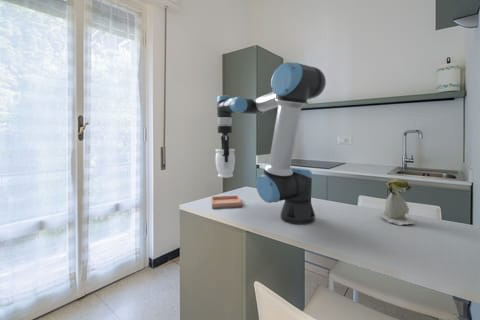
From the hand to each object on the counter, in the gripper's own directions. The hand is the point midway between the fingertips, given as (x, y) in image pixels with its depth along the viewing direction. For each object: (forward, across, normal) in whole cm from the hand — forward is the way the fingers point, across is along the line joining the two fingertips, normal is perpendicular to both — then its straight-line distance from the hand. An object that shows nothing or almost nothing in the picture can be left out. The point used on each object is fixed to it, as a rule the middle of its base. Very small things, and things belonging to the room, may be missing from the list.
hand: (225, 166), depth 135 cm
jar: (+6, 0, 0) cm, 6 cm away
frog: (+21, -39, -72) cm, 84 cm away
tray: (+21, 0, 0) cm, 21 cm away
